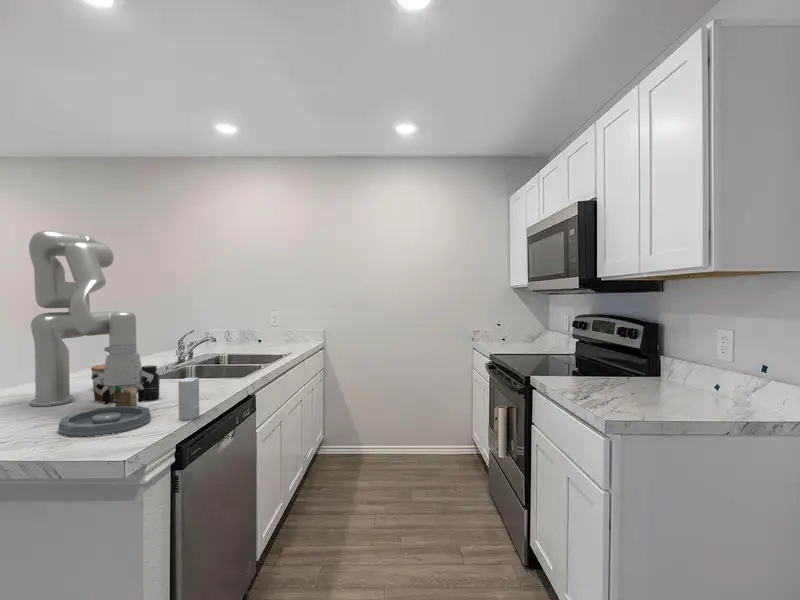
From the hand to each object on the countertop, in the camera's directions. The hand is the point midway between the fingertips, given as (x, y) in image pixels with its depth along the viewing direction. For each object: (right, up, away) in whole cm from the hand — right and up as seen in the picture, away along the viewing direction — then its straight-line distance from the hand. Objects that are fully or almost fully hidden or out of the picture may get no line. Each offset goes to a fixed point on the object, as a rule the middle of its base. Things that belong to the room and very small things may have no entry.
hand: (124, 402), depth 147 cm
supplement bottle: (-2, -3, +17) cm, 18 cm away
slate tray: (+3, -3, -14) cm, 15 cm away
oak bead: (-2, -3, +7) cm, 8 cm away
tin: (-13, -3, +27) cm, 31 cm away
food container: (-13, -3, +15) cm, 20 cm away
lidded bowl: (-27, -2, +35) cm, 45 cm away
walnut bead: (-1, -3, 0) cm, 3 cm away
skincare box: (+24, -3, -6) cm, 25 cm away
